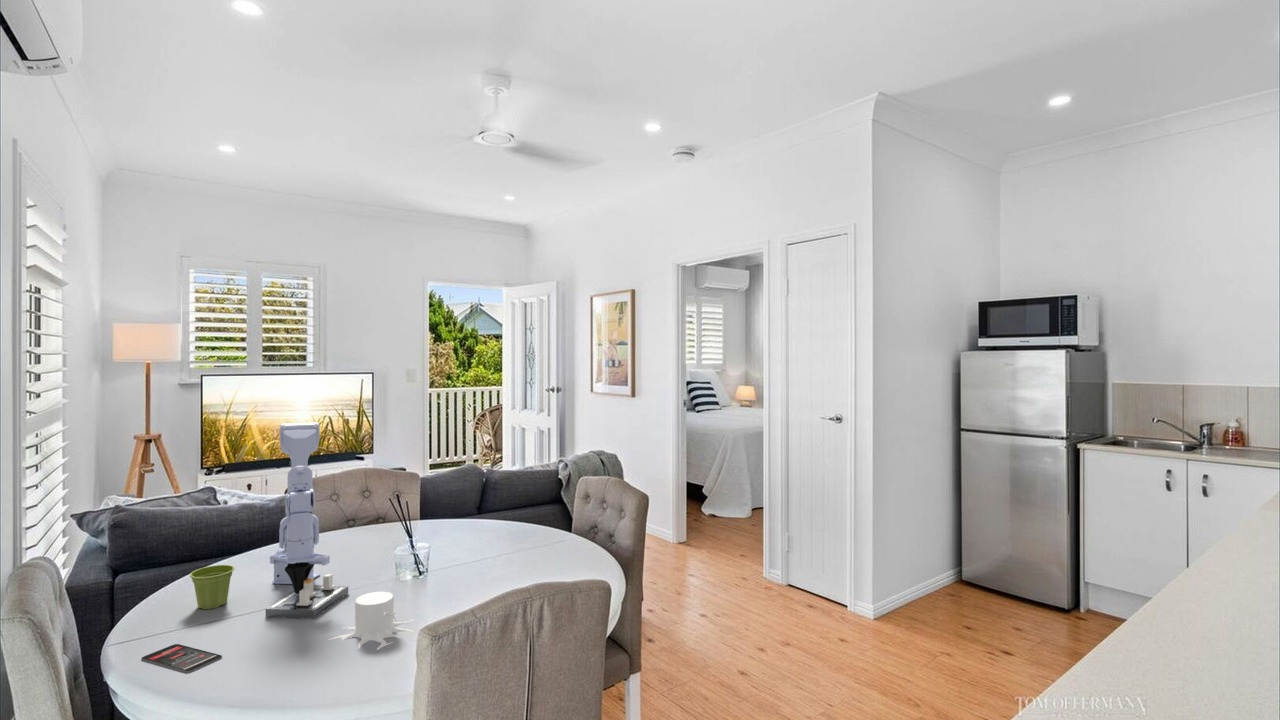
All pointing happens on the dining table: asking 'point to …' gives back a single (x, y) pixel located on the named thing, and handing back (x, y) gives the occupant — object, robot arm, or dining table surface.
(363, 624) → the tree stump
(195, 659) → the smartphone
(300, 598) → the block
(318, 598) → the panel
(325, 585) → the breaker far
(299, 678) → the dining table surface
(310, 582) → the breaker mid
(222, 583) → the plant pot
